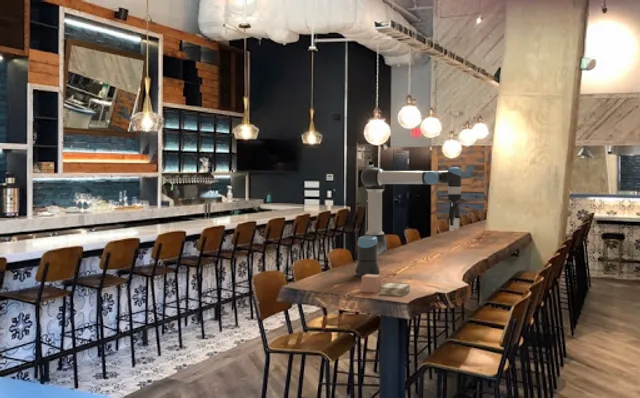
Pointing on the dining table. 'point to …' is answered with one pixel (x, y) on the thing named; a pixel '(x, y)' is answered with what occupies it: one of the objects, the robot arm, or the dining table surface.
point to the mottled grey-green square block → (395, 289)
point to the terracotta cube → (371, 283)
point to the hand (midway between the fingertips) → (454, 230)
